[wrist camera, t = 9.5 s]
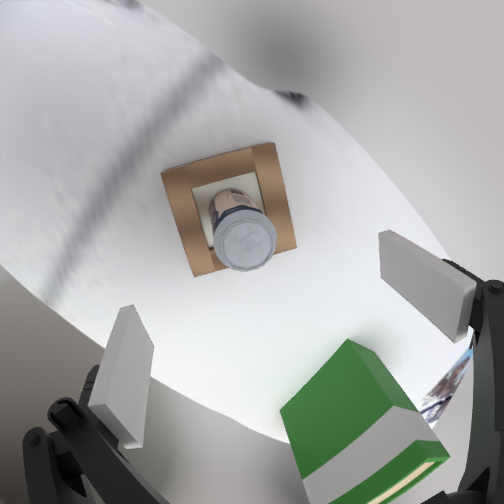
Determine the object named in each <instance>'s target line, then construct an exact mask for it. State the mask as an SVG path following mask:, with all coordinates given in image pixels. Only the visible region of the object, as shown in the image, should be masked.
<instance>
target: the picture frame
mask: <svg viewBox="0 0 504 504" xmlns="http://www.w3.org/2000/svg"><path fill="white" fill-rule="evenodd" d="M161 176H162V179H163V183H164V186H165V189H166V193H167V196H168V199H169V203H170V206H171V209H172V212H173V215H174V219H175V222H176V225H177V228H178V231H179V234H180V237H181V240H182V243H183V246H184V249H185V252H186V255H187V258H188V261H189V264H190V267H191V270H192V273H193V275H194V277H197V276H201V275H204V274H208V273H211V272H215V271H218V270H222V269H225V268H229V267H227V266H226V265H224V264H223V263H222V262H221V261H220V260H219V258H218V257H217V255H216V253H215V250H214V246H213V232H212V225H211V218H210V214H209V208H210V204H211V201H212V199H213V198H214V197H215V195H216V194H217V193H219V192H220V191H222V190H225V189H229V188H236V189H240V190H242V191H244V192H245V193H247V194H248V196H249V197H250V198H251V200H252V201H253V202H254V203H255V205H256V206H257V207H258V208H259V209H260V210H261V212H262V213H263V214H264V215H265V216H266V217H267V218H268V219H269V220H270V221H271V222H272V224H273V225H274V227H275V230H276V234H277V245H276V249H275V252H274V253H273V255H274V254H278V253H281V252H285V251H288V250H292V249H295V248H297V246H296V241H295V236H294V231H293V226H292V221H291V216H290V211H289V206H288V201H287V196H286V192H285V187H284V182H283V178H282V173H281V169H280V164H279V160H278V155H277V151H276V147H275V143H272V142H269V143H264V144H260V145H256V146H251V147H247V148H243V149H239V150H235V151H231V152H227V153H223V154H220V155H216V156H212V157H209V158H205V159H201V160H198V161H194V162H191V163H188V164H184V165H181V166H178V167H174V168H171V169H168V170H165V171H163V172H162V173H161Z"/></svg>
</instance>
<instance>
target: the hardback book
mask: <svg viewBox="0 0 504 504" xmlns="http://www.w3.org/2000/svg"><path fill="white" fill-rule="evenodd" d="M280 413H281V416H282V419H283V422H284V425H285V429H286V432H287V435H288V438H289V441H290V444H291V447H292V450H293V453H294V456H295V459H296V462H297V466H298V469H299V472H300V474H301V478H302V481H303V484H304V487H305V490H306V493H307V496H308V498H309V501H310V504H388V503H390V502H391V501H393V500H394V499H396V498H397V497H399V496H400V495H402V494H403V493H405V492H406V491H408V490H409V489H410V488H412V487H413V486H414V485H416V484H417V483H419V482H420V481H421V480H423V479H424V478H425V477H426V476H428V475H429V474H430V473H432V472H433V471H434V470H435V469H436V468H438V467H439V466H440V465H441V464H442V463H444V462H445V461H446V460H447V459H448V458H449V457H450V455H449V454H448V452H447V451H446V449H445V448H444V446H443V445H442V443H441V442H440V441H439V439H438V438H437V436H436V435H435V434H434V432H433V431H432V429H431V428H430V427H429V425H428V424H427V422H426V421H425V420H424V418H423V417H422V415H421V414H420V413H419V411H418V410H417V409H416V407H415V406H414V404H413V403H412V402H411V400H410V399H409V398H408V396H407V395H406V394H405V392H404V391H403V389H402V388H401V387H400V385H399V384H398V383H397V381H396V380H395V379H394V377H393V376H392V375H391V373H390V372H389V371H388V369H387V368H386V367H385V365H384V364H383V363H382V361H381V360H380V359H379V357H378V356H377V355H376V354H375V352H373V351H371V350H369V349H367V348H365V347H363V346H361V345H359V344H357V343H355V342H353V341H351V340H349V339H347V340H346V341H345V342H344V343H343V344H342V345H341V347H340V348H339V349H338V350H337V351H336V352H335V353H334V354H333V356H332V357H331V358H330V359H329V360H328V361H327V362H326V363H325V364H324V366H323V367H322V368H321V369H320V370H319V371H318V372H317V373H316V374H315V375H314V376H313V377H312V378H311V379H310V380H309V382H308V383H307V384H306V385H305V386H304V387H303V388H302V389H301V390H300V391H299V392H298V393H297V394H296V395H295V396H294V397H293V398H292V399H291V400H290V401H289V402H288V403H287V404H286V405H285V406H284V407H283V408H282V409H281V410H280Z"/></svg>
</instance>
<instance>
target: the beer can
mask: <svg viewBox="0 0 504 504" xmlns="http://www.w3.org/2000/svg"><path fill="white" fill-rule="evenodd" d="M209 214H210V218H211V225H212V232H213V246H214V250H215V253H216V255H217V257H218V258H219V260H220V261H221V262H222V263H223V264H224V265H226V266H227V267H229V268H231V269H234V270H238V271H250V270H254V269H257V268H259V267H261V266H264V264H265V263H266V262H267V261H268V260H269V259H270V258H271V257H272V255H273V253H274V252H275V249H276V245H277V234H276V230H275V227H274V225H273V224H272V222H271V221H270V220H269V219H268V218H267V217H266V216H265V215H264V214H263V213H262V212H261V210H260V209H259V208H258V207H257V206H256V205H255V203H254V202H253V201H252V200H251V198H250V197H249V196H248V194H247V193H245V192H244V191H242V190H240V189H236V188H229V189H225V190H222V191H220V192H219V193H217V194H216V195H215V197H214V198H213V199H212V201H211V204H210V208H209Z"/></svg>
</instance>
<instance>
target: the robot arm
mask: <svg viewBox="0 0 504 504" xmlns="http://www.w3.org/2000/svg"><path fill="white" fill-rule="evenodd" d="M378 235H379V251H380V272H381V278H382V279H383V280H384V281H385V282H386V283H387V284H389V285H390V286H391V287H392V288H393V289H394V290H396V291H397V292H398V293H399V294H400V295H401V296H402V297H404V298H405V299H406V300H407V301H408V302H409V303H410V304H412V305H413V306H414V307H415V308H416V309H417V310H418V311H419V312H421V313H422V314H423V315H424V316H425V317H426V318H427V319H428V320H429V321H430V322H432V323H433V324H434V325H435V326H436V327H437V328H438V329H439V330H440V331H441V332H442V333H444V334H445V335H446V336H447V337H448V338H449V339H450V340H451V341H452V342H453V343H454V344H455V343H456V342H458V341H460V340H461V339H463V338H464V337H466V335H467V331H468V327H469V326H471V327H472V328H473V329H474V331H473V335H472V339H471V343H470V347H469V349H471V348H472V345H473V360H474V387H473V410H472V411H473V412H472V423H471V434H470V442H469V450H468V458H467V464H466V469H465V473H464V475H463V477H462V480H461V482H460V484H459V487H458V491H457V492H454V493H450V494H445V492H444V491H441V492H440V493H438V494H436V495H435V496H433V497H431V498H430V499H428V500H426V501H425V502H423V503H421V504H504V282H502V281H499V280H488V281H486V282H485V281H483V280H481V279H480V278H478V277H477V276H475V275H474V274H472V273H471V272H469V271H466V269H464V268H463V267H460V266H459V265H458V264H456V263H454V262H453V261H449V260H446V259H440V258H438V257H436V256H435V255H433V254H431V253H430V252H428V251H426V250H425V249H423V248H421V247H420V246H418V245H416V244H414V243H413V242H411V241H409V240H408V239H406V238H404V237H402V236H400V235H399V234H397V233H395V232H393V231H392V230H387V231H383V232H380V233H378ZM153 350H154V345H153V343H152V341H151V339H150V337H149V335H148V333H147V331H146V329H145V327H144V325H143V323H142V321H141V319H140V317H139V315H138V313H137V311H136V309H135V307H134V305H130V306H126V307H122V308H120V310H119V313H118V316H117V318H116V321H115V324H114V326H113V329H112V332H111V335H110V337H109V340H108V343H107V346H106V349H105V352H104V355H103V358H102V361H101V364H100V365H95V366H94V367H93V368H92V369H91V371H90V372H89V373H88V375H87V378H86V381H85V383H86V384H84V387H83V391H82V393H81V397H80V400H79V403H78V405H77V404H76V402H75V401H73V399H72V398H68V397H65V398H61V399H59V400H57V401H56V402H54V403H53V404H52V405H51V407H50V409H49V410H48V414H47V416H48V420H49V421H50V422H51V423H52V424H53V425H54V426H55V427H56V428H57V429H58V431H55V432H52V433H49V434H48V433H47V432H46V431H45V430H43V429H42V428H41V427H35V428H32V429H31V430H29V431H28V432H27V433H26V435H25V436H24V439H23V457H24V468H25V476H26V484H27V491H28V497H29V502H30V504H96V503H95V500H94V498H93V495H92V492H91V489H90V487H89V484H88V480H89V481H90V483H91V484H92V486H93V487H94V488H95V490H96V491H97V493H98V494H99V496H100V497H101V498H102V500H103V501H104V502H105V503H106V504H170V503H169V502H168V501H167V500H166V499H165V498H163V497H162V496H161V495H160V494H159V493H158V492H157V491H156V490H155V489H154V488H153V487H152V486H151V485H150V484H149V483H148V482H147V481H146V480H145V479H144V477H142V475H141V474H140V473H139V472H138V471H137V470H136V469H135V468H134V467H133V465H132V464H131V463H130V462H129V461H128V460H127V459H126V458H125V456H124V455H123V454H122V453H121V452H120V451H119V450H118V442H120V443H121V444H122V445H123V446H124V447H125V448H126V449H129V448H139V447H143V438H144V426H145V416H146V406H147V397H148V388H149V380H150V372H151V365H152V357H153ZM86 476H87V477H86ZM87 478H88V480H87Z"/></svg>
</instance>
